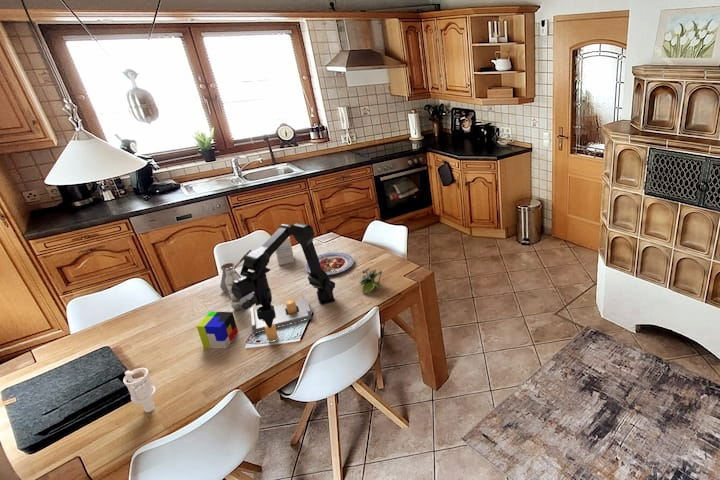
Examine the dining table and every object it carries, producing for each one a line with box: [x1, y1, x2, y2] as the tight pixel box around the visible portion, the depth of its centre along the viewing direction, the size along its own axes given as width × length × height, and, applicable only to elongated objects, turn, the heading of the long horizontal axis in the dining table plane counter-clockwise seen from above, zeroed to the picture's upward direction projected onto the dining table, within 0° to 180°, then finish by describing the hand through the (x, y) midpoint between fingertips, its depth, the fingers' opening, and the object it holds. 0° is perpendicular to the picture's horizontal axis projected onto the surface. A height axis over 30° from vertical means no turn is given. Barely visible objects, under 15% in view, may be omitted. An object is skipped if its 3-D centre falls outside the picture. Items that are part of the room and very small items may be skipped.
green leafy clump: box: [358, 268, 383, 294], centre depth 183 cm, size 11×11×12 cm
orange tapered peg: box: [285, 299, 298, 315], centre depth 171 cm, size 4×4×6 cm
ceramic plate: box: [304, 251, 355, 276], centre depth 210 cm, size 26×26×3 cm
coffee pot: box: [219, 249, 252, 294], centre depth 200 cm, size 21×12×15 cm, turn 143°
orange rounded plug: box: [264, 324, 279, 341], centre depth 156 cm, size 4×4×6 cm
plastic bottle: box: [225, 267, 243, 311], centre depth 177 cm, size 6×7×20 cm
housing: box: [249, 294, 313, 334], centre depth 170 cm, size 24×14×4 cm, turn 107°
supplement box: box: [275, 236, 295, 266], centre depth 220 cm, size 9×9×15 cm
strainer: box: [122, 367, 157, 413], centre depth 127 cm, size 7×7×15 cm
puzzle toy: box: [196, 311, 239, 349], centre depth 159 cm, size 10×10×10 cm
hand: (268, 320), depth 154 cm, fingers open, 9 cm apart
